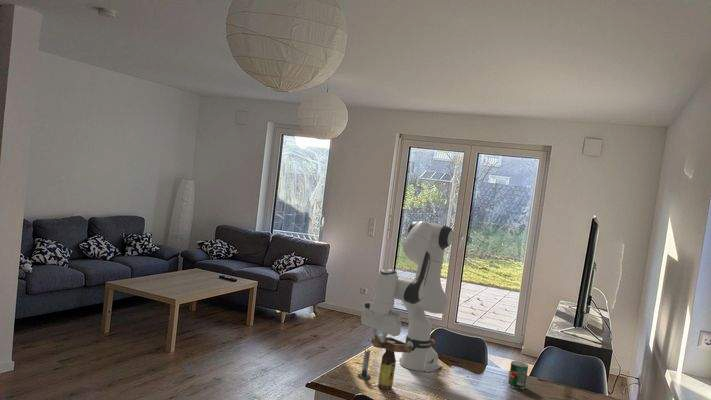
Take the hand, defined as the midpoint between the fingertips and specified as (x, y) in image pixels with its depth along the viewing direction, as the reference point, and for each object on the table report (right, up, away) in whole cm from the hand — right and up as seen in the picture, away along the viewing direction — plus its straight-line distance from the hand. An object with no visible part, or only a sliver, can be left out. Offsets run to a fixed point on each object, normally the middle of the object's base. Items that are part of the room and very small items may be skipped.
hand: (378, 340), depth 237 cm
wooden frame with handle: (+4, -4, +5) cm, 8 cm away
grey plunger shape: (-6, -20, +16) cm, 26 cm away
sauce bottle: (+3, -22, +7) cm, 23 cm away
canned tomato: (+67, -30, +32) cm, 80 cm away
